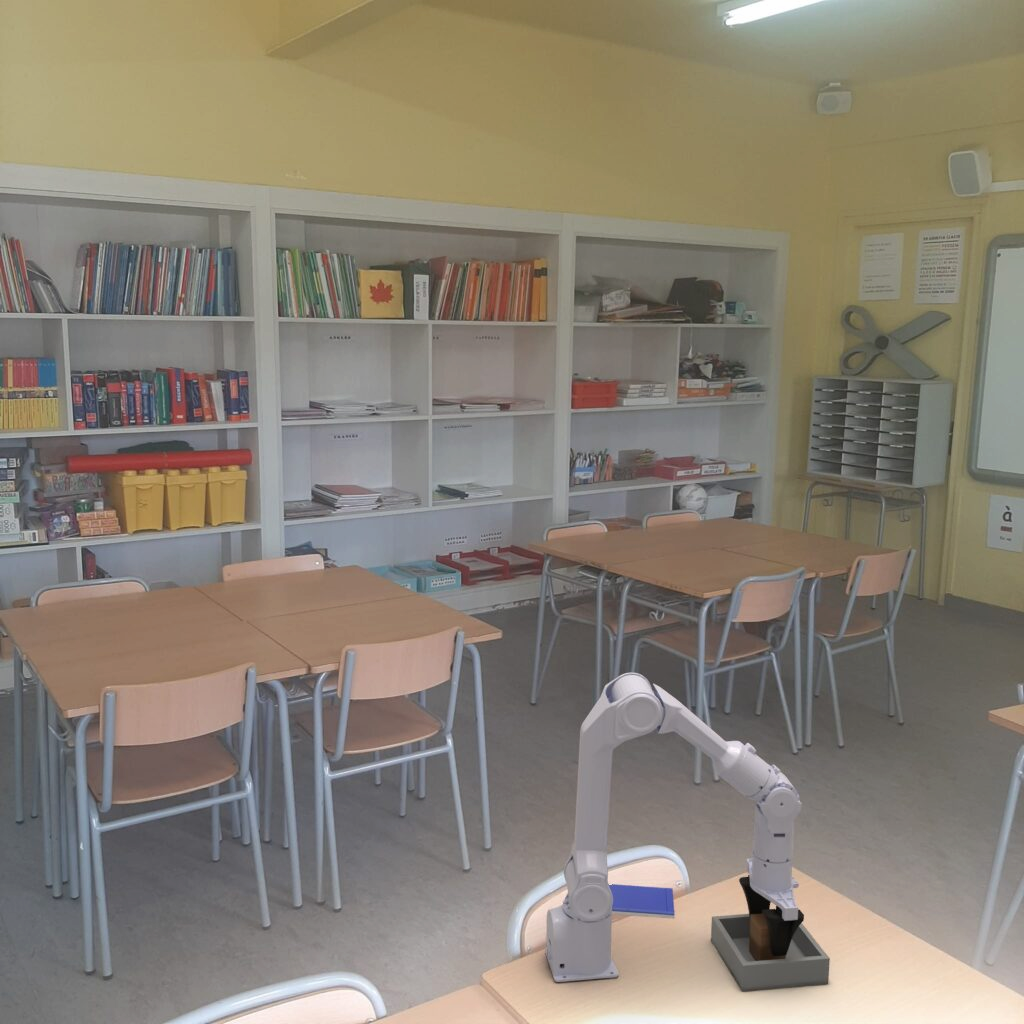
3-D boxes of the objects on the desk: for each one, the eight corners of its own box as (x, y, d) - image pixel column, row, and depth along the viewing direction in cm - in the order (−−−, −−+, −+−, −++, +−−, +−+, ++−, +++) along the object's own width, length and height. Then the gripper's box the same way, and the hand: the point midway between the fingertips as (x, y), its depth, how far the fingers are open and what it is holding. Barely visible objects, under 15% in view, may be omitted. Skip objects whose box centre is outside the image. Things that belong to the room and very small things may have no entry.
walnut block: (759, 967, 149) (761, 929, 148) (749, 951, 153) (750, 914, 152) (785, 964, 150) (787, 926, 149) (774, 949, 154) (776, 912, 153)
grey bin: (742, 991, 144) (743, 965, 144) (710, 940, 157) (711, 916, 156) (828, 984, 146) (829, 958, 146) (790, 934, 159) (791, 910, 158)
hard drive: (597, 907, 164) (674, 912, 163) (598, 881, 172) (672, 886, 171) (596, 916, 165) (674, 921, 163) (598, 890, 173) (672, 895, 171)
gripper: (820, 876, 142) (815, 965, 144) (778, 829, 157) (774, 911, 159) (772, 879, 141) (768, 969, 143) (734, 832, 156) (731, 915, 158)
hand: (768, 939), depth 151 cm, fingers open, 7 cm apart
